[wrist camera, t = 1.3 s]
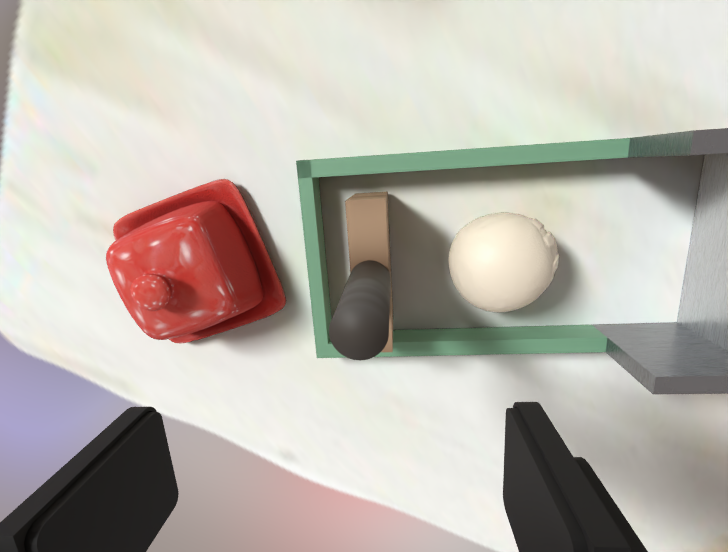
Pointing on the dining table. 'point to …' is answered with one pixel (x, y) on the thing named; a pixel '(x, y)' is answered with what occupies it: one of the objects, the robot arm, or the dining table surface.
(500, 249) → the cream round ball
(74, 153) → the dining table surface
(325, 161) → the frame
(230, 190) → the butter dish
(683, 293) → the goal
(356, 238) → the striker
